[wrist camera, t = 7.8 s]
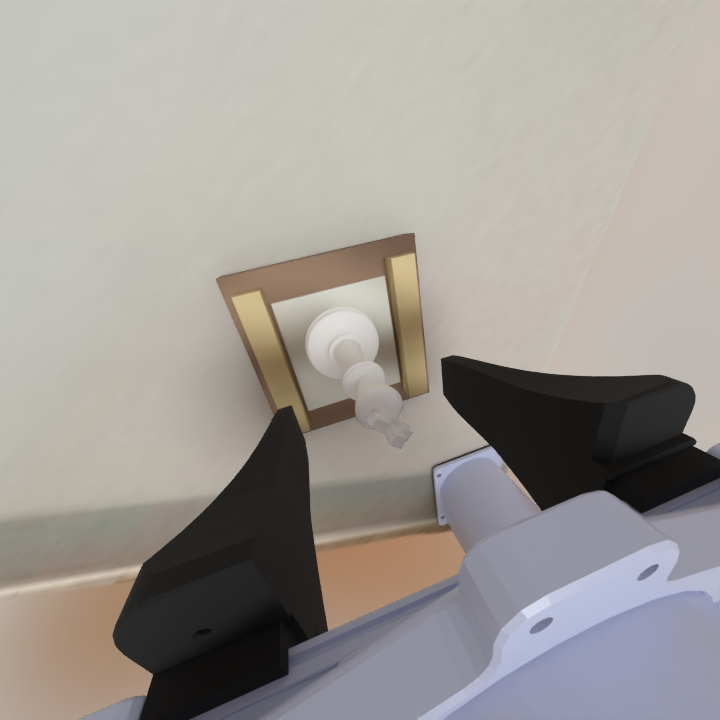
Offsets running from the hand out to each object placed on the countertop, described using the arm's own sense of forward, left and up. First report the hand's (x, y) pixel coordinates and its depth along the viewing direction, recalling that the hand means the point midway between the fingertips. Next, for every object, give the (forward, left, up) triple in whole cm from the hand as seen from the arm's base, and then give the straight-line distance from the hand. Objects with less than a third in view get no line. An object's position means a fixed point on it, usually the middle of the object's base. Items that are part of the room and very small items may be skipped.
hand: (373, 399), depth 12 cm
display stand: (0, 0, -8) cm, 8 cm away
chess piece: (0, 0, -7) cm, 7 cm away
